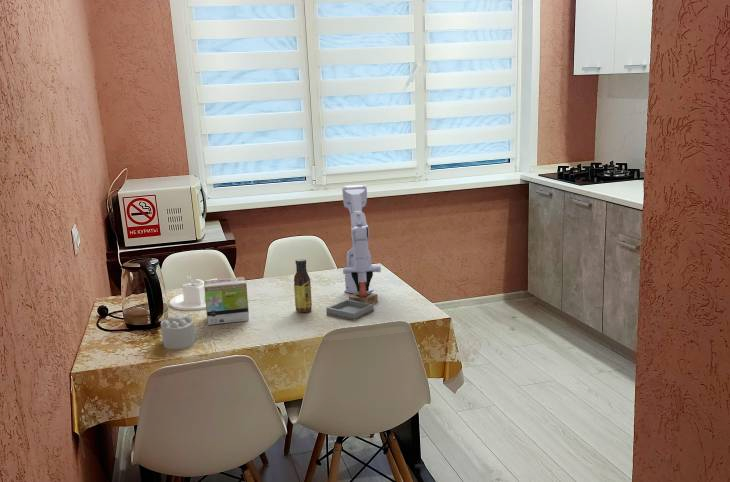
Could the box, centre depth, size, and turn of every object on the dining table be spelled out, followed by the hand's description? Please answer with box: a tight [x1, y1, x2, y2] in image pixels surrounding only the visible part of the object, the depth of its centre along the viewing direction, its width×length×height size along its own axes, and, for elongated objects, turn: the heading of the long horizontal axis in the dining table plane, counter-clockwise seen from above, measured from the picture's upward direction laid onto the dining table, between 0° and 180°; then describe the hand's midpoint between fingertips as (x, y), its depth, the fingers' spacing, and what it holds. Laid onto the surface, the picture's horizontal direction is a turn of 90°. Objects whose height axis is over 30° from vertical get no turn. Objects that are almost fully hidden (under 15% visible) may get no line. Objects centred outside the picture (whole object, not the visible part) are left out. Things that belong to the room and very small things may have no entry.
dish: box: [169, 274, 218, 312], centre depth 267 cm, size 25×25×11 cm
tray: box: [325, 298, 375, 321], centre depth 244 cm, size 13×12×2 cm
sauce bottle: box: [293, 258, 313, 313], centre depth 247 cm, size 7×6×20 cm
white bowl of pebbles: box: [160, 314, 197, 350], centre depth 221 cm, size 10×13×9 cm
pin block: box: [348, 292, 379, 305], centre depth 255 cm, size 8×8×3 cm
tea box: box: [203, 276, 250, 326], centre depth 242 cm, size 15×10×15 cm
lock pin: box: [359, 281, 367, 297], centre depth 254 cm, size 3×3×8 cm
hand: (362, 290), depth 254 cm, fingers closed on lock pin, 3 cm apart
